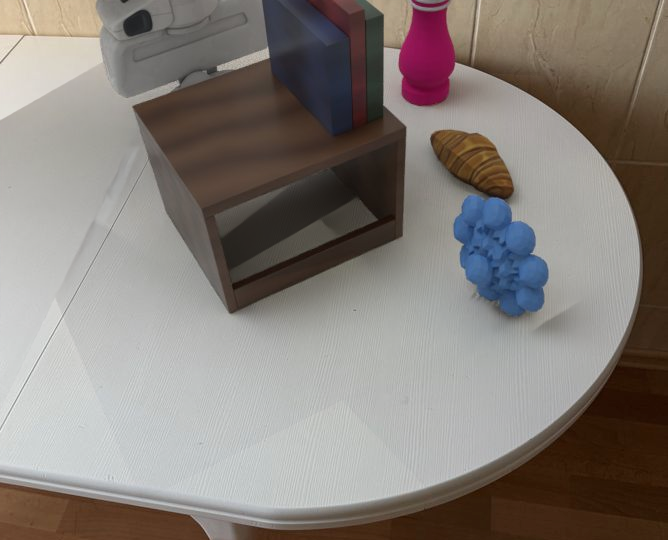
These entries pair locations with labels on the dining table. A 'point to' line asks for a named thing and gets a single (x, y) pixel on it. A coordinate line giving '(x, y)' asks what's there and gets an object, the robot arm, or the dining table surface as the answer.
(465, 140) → the croissant
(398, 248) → the dining table surface
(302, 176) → the bookshelf
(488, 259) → the grapes
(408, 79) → the pepper mill
